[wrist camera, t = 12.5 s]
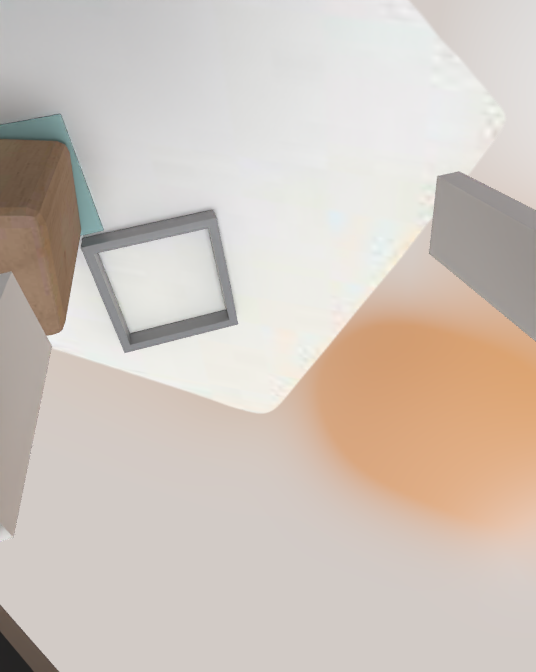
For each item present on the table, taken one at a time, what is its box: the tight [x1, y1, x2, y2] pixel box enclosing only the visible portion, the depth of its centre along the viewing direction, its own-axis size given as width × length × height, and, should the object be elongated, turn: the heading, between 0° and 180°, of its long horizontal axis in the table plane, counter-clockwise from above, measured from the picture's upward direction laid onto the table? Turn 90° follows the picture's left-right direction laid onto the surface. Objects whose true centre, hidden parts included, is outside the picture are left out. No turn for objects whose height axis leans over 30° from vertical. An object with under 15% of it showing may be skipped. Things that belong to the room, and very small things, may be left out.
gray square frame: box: [81, 210, 238, 353], centre depth 56 cm, size 15×15×2 cm
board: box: [0, 114, 103, 236], centre depth 47 cm, size 12×12×1 cm
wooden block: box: [0, 139, 81, 335], centre depth 39 cm, size 10×10×20 cm
